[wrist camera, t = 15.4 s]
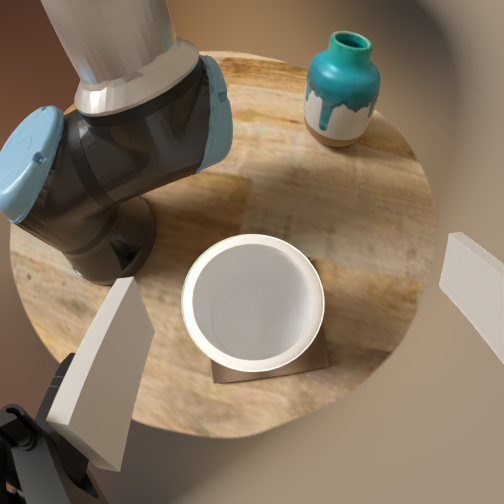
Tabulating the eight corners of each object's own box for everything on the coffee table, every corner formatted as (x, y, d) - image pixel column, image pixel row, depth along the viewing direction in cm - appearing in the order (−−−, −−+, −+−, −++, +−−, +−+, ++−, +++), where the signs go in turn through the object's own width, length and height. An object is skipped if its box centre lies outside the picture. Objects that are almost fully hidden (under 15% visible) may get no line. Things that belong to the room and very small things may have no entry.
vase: (373, 140, 45) (407, 52, 27) (332, 168, 43) (359, 70, 25) (330, 105, 48) (346, 17, 30) (287, 128, 46) (292, 31, 28)
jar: (204, 345, 34) (159, 339, 20) (234, 268, 37) (212, 216, 23) (286, 375, 33) (298, 393, 19) (314, 295, 36) (342, 258, 21)
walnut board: (215, 382, 34) (213, 383, 33) (203, 275, 39) (200, 273, 37) (327, 365, 34) (329, 366, 33) (308, 259, 39) (309, 256, 37)
